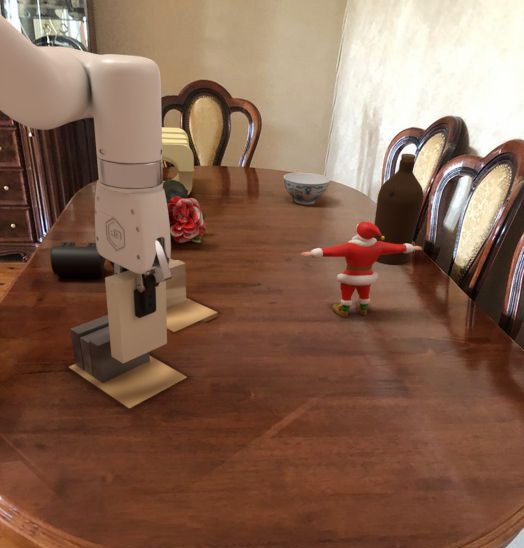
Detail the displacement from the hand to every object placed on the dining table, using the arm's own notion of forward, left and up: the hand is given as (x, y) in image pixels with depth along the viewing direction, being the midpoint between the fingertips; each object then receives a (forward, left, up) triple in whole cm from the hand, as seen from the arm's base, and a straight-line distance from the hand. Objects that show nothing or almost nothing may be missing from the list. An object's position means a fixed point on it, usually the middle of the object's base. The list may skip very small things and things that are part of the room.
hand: (137, 309), depth 72 cm
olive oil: (-1, +79, -14) cm, 80 cm away
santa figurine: (+9, +45, -14) cm, 48 cm away
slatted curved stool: (-82, +76, -14) cm, 113 cm away
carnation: (-53, +52, -14) cm, 76 cm away
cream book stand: (-16, +19, -13) cm, 29 cm away
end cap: (-42, +17, -14) cm, 48 cm away
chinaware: (-46, +104, -14) cm, 115 cm away
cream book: (0, 0, -7) cm, 7 cm away
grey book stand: (-4, 0, -13) cm, 14 cm away
